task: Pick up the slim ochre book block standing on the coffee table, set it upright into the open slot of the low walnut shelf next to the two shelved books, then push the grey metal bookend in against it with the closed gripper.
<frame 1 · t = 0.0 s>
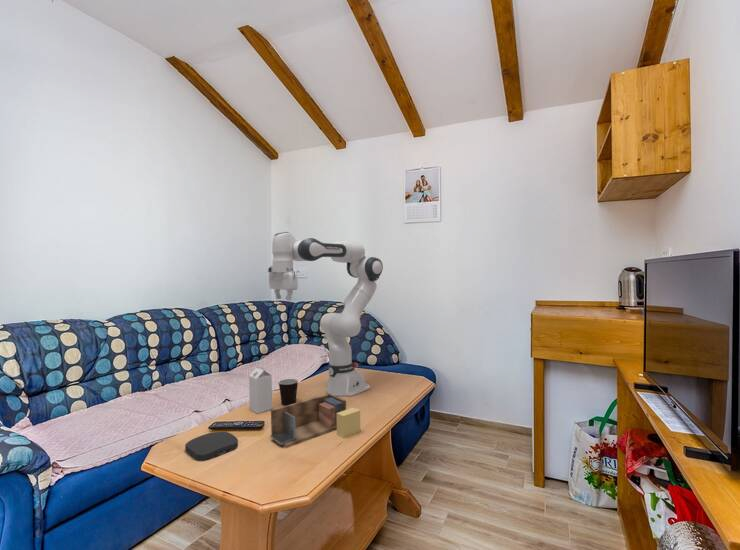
hand: (283, 299, 165), 48 cm above the table, fingers open, 8 cm apart
coffee mug: (290, 402, 172), on the table
milk carton: (261, 409, 164), on the table
media streaming box: (212, 449, 129), on the table
book: (348, 433, 139), on the table
bookend: (282, 427, 133), point 5 cm above the table, slide at 0.0 cm
shelf: (310, 431, 141), on the table
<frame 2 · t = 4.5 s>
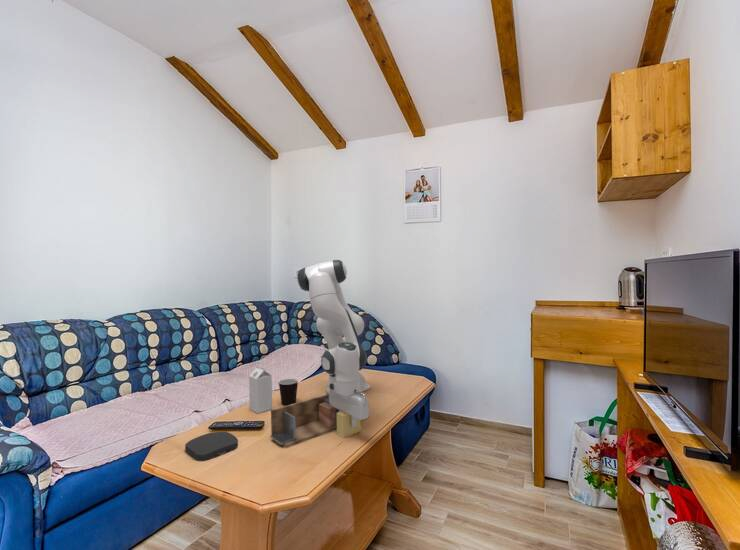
hand: (348, 423, 139), 3 cm above the table, fingers closed on book, 4 cm apart
book: (348, 432, 139), on the table, touching gripper
everything else where it was.
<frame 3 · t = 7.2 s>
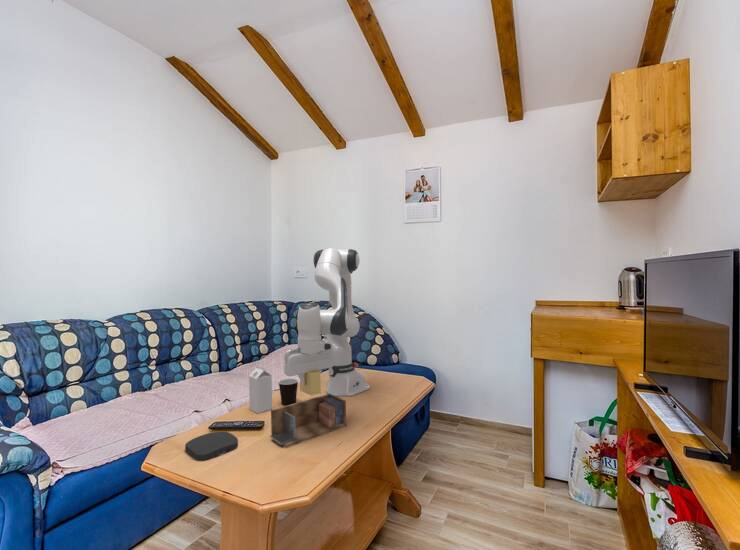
hand: (310, 383, 140), 18 cm above the table, fingers closed on book, 4 cm apart
book: (310, 391, 140), point 15 cm above the table, touching gripper
everything else where it was.
when the fingers open (6 cm above the table, at t = 9.7 s): book drops 2 cm, resting on shelf.
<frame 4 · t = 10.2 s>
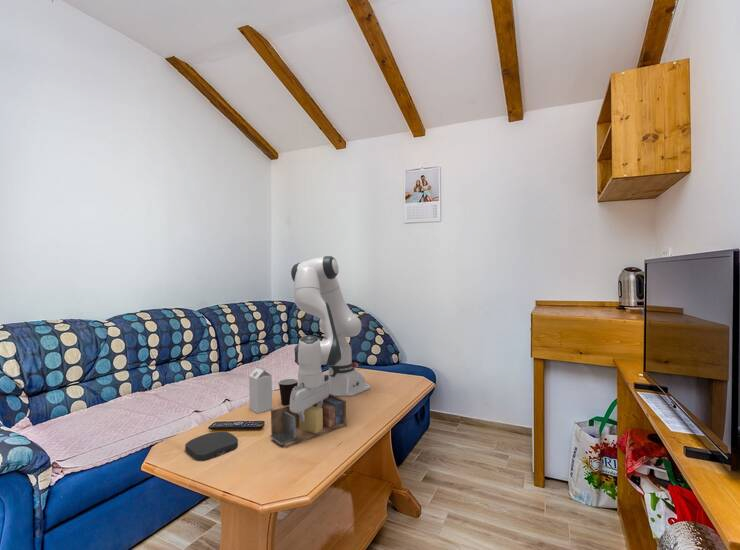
hand: (310, 416, 140), 6 cm above the table, fingers open, 8 cm apart
book: (311, 429, 140), point 1 cm above the table, touching shelf
everything else where it was.
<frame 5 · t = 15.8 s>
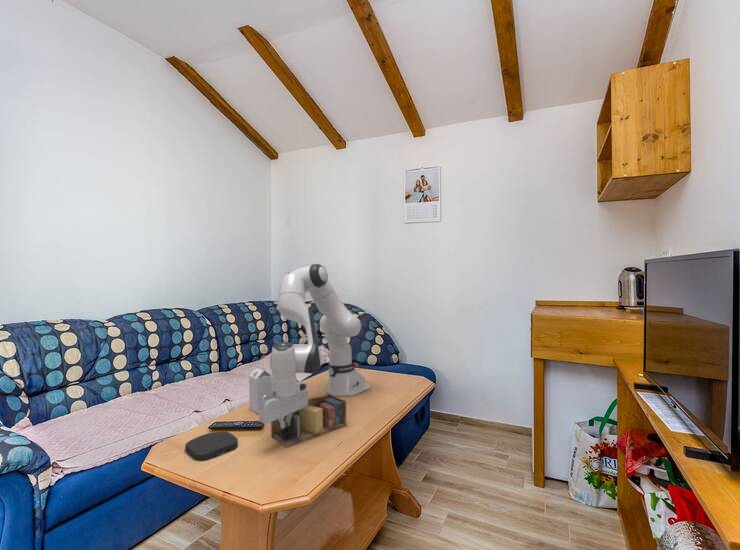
hand: (285, 427, 133), 5 cm above the table, fingers closed
bookend: (286, 425, 134), point 5 cm above the table, slide at 1.6 cm, touching gripper
everything else where it was.
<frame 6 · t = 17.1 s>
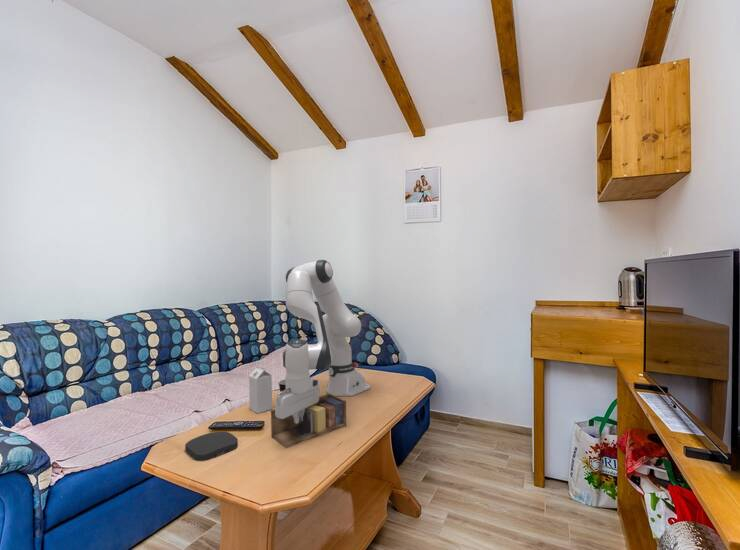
hand: (298, 422, 137), 5 cm above the table, fingers closed
book: (314, 428, 141), point 1 cm above the table, touching bookend, shelf
bookend: (300, 421, 137), point 5 cm above the table, slide at 7.0 cm, touching book, gripper
everything else where it was.
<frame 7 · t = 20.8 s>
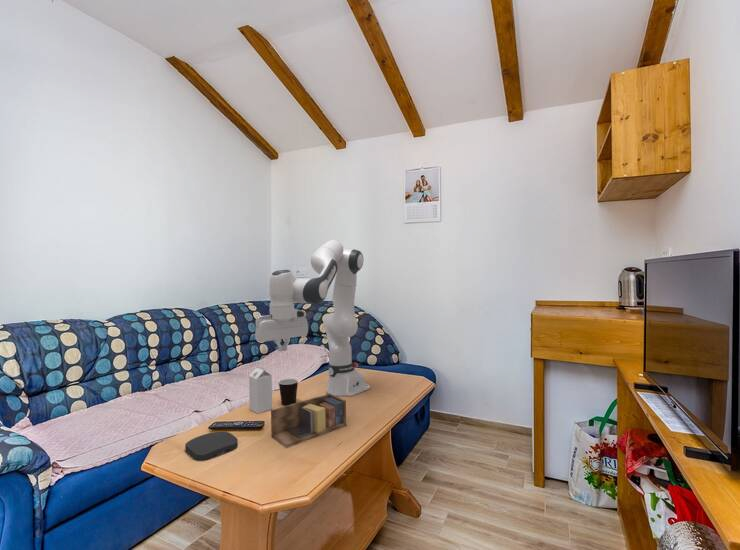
hand: (282, 350, 139), 31 cm above the table, fingers closed
bookend: (300, 421, 137), point 5 cm above the table, slide at 7.0 cm, touching book
everything else where it was.
at the end: book 1.6 cm off-centre on the shelf, point 1.0 cm above the shelf's base; book tilted 0°; bookend slide at 7.0 cm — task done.
